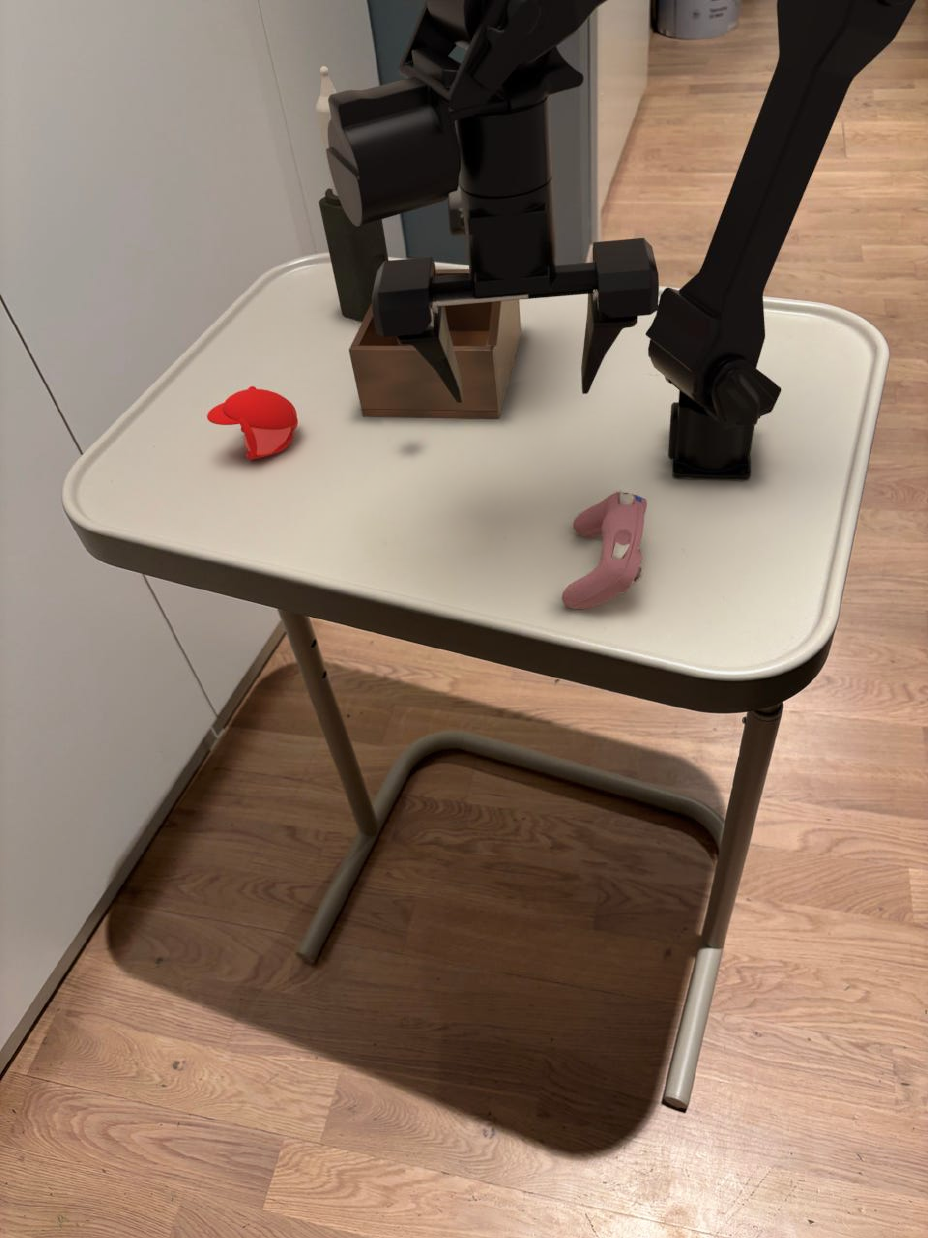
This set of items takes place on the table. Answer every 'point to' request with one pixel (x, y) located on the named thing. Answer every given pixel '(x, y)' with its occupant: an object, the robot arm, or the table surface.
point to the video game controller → (610, 549)
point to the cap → (258, 419)
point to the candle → (348, 234)
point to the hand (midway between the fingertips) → (521, 395)
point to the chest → (411, 385)
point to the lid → (497, 320)
